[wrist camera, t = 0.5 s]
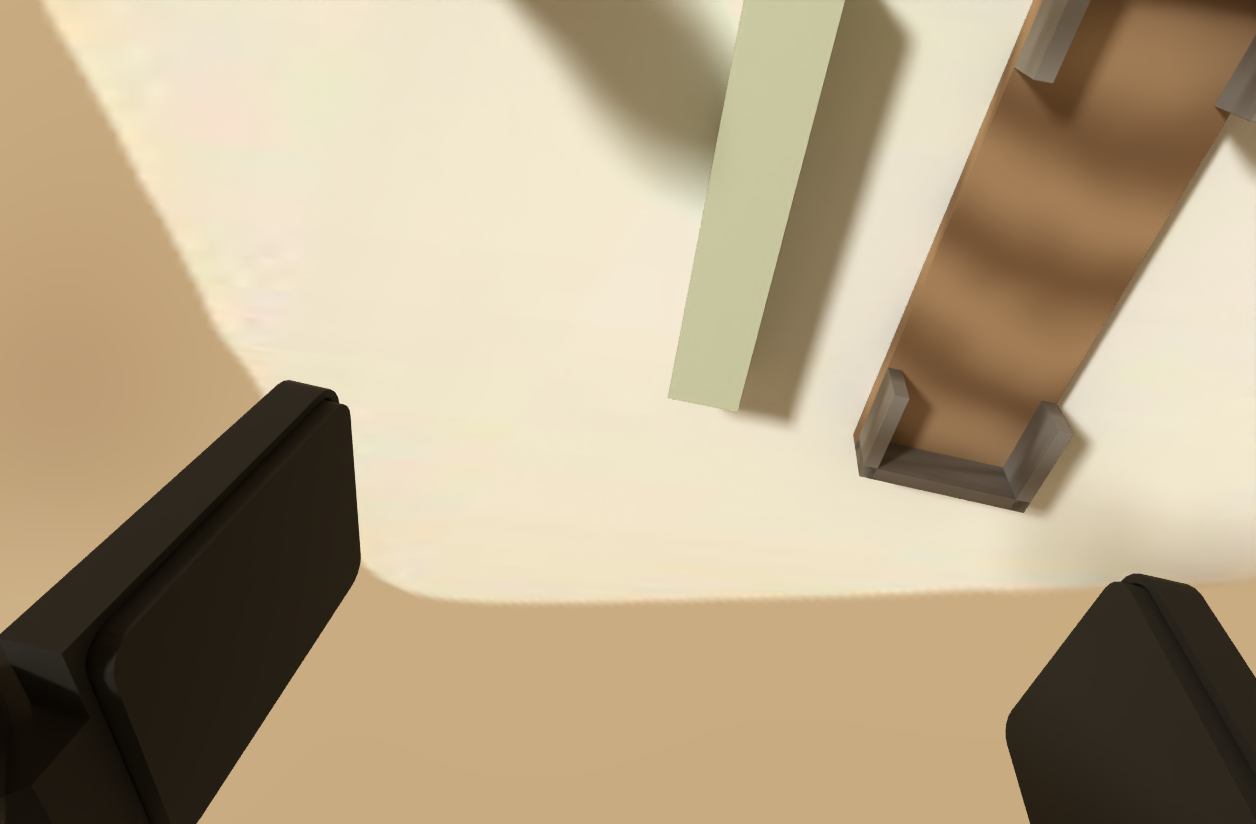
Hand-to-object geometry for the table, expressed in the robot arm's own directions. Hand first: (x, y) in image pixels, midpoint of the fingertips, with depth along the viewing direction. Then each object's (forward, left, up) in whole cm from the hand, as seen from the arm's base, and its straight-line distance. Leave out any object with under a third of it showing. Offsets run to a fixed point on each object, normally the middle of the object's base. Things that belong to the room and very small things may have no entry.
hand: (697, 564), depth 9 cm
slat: (+5, +1, -33) cm, 33 cm away
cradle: (+5, +16, -33) cm, 37 cm away
